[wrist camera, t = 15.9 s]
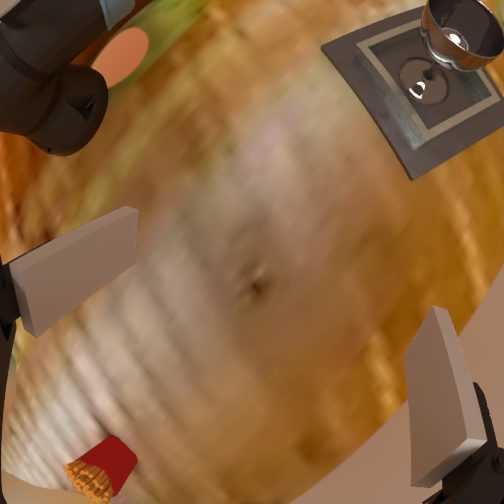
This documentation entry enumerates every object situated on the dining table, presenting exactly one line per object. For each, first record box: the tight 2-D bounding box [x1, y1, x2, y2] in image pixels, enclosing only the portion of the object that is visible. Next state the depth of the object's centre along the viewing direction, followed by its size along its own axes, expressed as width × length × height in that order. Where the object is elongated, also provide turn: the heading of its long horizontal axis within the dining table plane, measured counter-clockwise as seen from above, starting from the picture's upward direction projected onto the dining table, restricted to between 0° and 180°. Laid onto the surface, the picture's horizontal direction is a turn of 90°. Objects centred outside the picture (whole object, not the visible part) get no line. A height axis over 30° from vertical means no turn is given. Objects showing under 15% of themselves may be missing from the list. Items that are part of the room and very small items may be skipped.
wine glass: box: [399, 0, 504, 106], centre depth 24 cm, size 8×8×15 cm
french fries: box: [63, 435, 137, 504], centre depth 40 cm, size 9×4×13 cm, turn 43°
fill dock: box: [321, 6, 504, 181], centre depth 30 cm, size 20×20×4 cm
